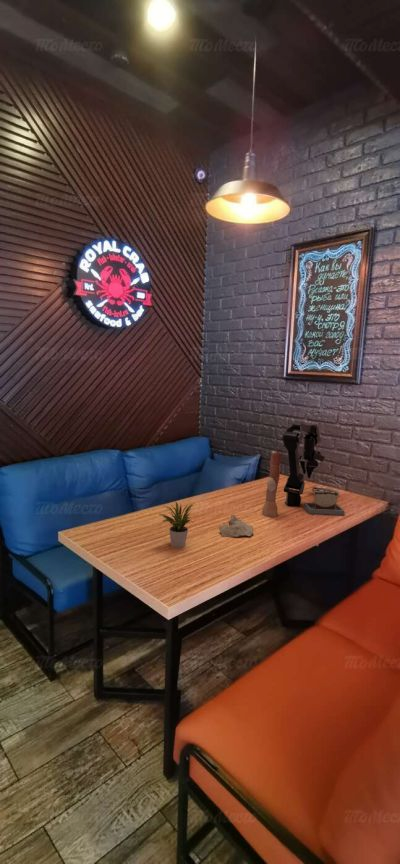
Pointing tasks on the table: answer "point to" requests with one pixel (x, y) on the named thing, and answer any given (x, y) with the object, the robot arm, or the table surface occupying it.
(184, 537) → the house plant
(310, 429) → the robot arm
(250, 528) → the coral
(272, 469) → the tall figurine
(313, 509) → the grey tray
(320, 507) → the food container
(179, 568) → the table surface
